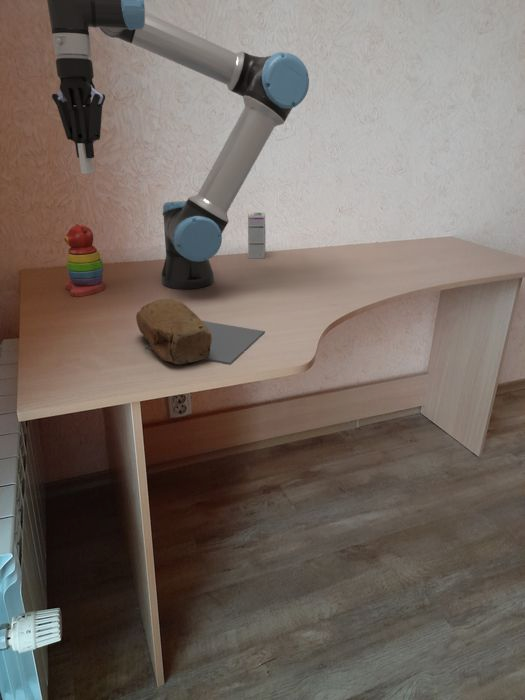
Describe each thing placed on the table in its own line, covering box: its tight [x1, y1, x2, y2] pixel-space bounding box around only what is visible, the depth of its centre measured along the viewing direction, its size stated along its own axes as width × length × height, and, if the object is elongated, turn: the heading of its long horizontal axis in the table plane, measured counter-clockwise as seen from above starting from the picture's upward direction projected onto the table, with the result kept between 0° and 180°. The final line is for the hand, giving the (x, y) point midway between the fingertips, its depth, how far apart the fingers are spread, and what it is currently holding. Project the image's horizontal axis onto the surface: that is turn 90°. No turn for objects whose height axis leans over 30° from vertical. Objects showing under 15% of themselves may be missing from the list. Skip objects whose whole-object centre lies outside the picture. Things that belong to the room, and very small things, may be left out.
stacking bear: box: [64, 223, 105, 297], centre depth 144 cm, size 11×10×18 cm
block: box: [135, 298, 212, 365], centre depth 110 cm, size 11×8×20 cm
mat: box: [144, 320, 266, 365], centre depth 116 cm, size 18×20×1 cm
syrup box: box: [247, 212, 266, 260], centre depth 180 cm, size 6×6×14 cm
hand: (87, 172), depth 124 cm, fingers closed
